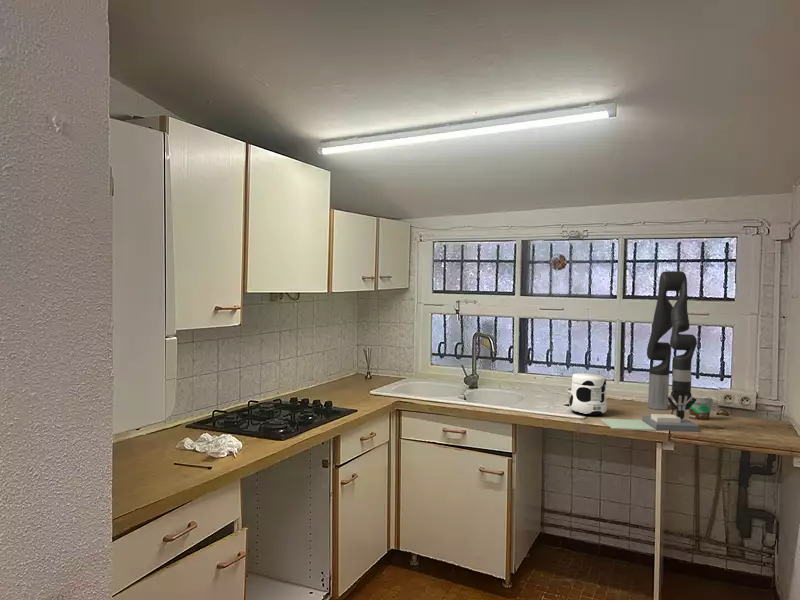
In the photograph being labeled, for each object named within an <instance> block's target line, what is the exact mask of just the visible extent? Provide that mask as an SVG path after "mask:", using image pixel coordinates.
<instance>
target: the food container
mask: <svg viewBox="0 0 800 600" xmlns="http://www.w3.org/2000/svg"><path fill="white" fill-rule="evenodd" d="M707 396H708V397H706V398H705V397H694V398H695V399H696V402H695V403H694V404H693V405H692V406H691V407H690V408H689V409H688V418H689V419H692V420H696V419H697V420H698V421H709V420H710V416H711V408H712V407H711V406H712V404H713V403H714V400H713V398H712V396H709V395H707ZM688 401H689V400H688ZM688 401H687V402H688ZM697 420H696V421H697Z"/></svg>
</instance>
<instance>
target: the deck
mask: <svg viewBox="0 0 800 600" xmlns="http://www.w3.org/2000/svg"><path fill="white" fill-rule="evenodd" d="M641 420H642V421H643V422H645V423H646V424H648V425H649V426H651V427H653V428H654V429H656V430H655V431H662V430H669V431H668V432H691V433H692V432H693V433H694V432H695V433H698V432H700V426H699V424H697V423H694V422H692V421H691V420H689V419H687V418H685V417H684V418H683V419H681V422H680V423H668V422H656V421H654V420H653V419H651V415H642V418H641Z"/></svg>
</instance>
